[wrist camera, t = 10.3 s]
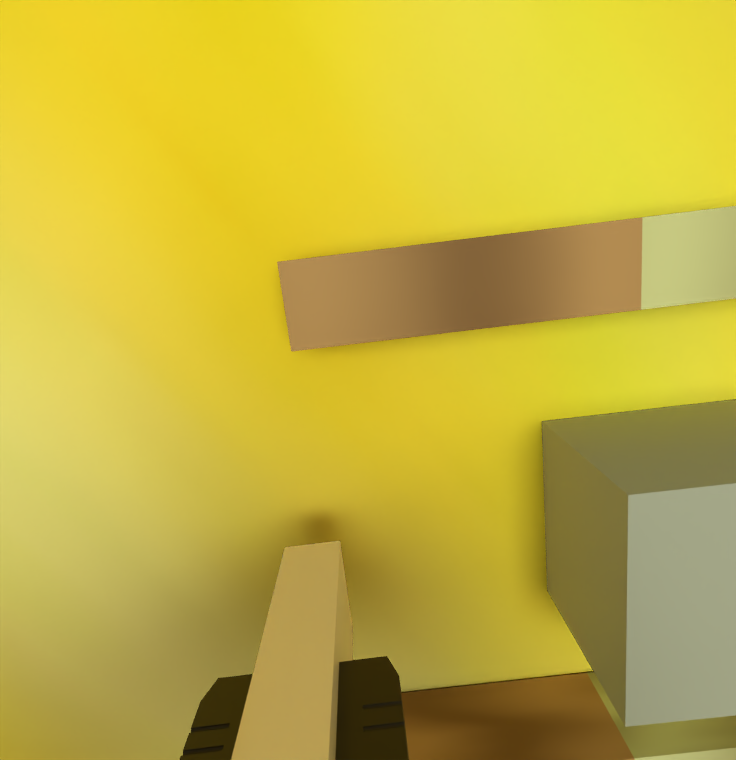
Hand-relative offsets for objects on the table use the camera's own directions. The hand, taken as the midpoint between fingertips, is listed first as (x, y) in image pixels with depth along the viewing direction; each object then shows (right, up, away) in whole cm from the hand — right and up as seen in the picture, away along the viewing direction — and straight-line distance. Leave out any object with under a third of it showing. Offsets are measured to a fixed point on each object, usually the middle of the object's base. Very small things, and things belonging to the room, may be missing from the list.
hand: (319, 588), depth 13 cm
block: (+10, +2, +2) cm, 10 cm away
